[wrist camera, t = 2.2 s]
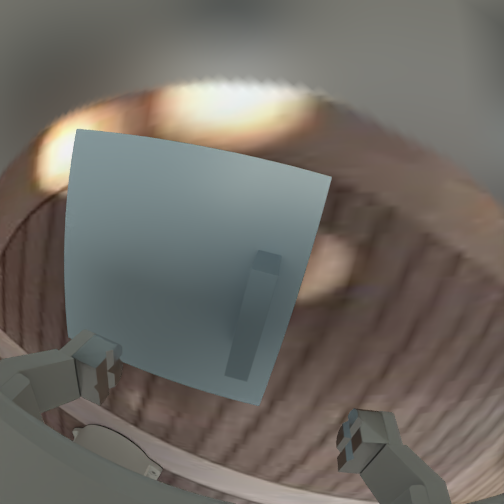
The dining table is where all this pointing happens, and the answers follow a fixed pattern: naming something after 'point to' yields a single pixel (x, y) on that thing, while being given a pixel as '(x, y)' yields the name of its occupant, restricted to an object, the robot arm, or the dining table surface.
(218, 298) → the lid
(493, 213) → the dining table surface
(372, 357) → the dining table surface
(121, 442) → the robot arm
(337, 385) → the dining table surface
